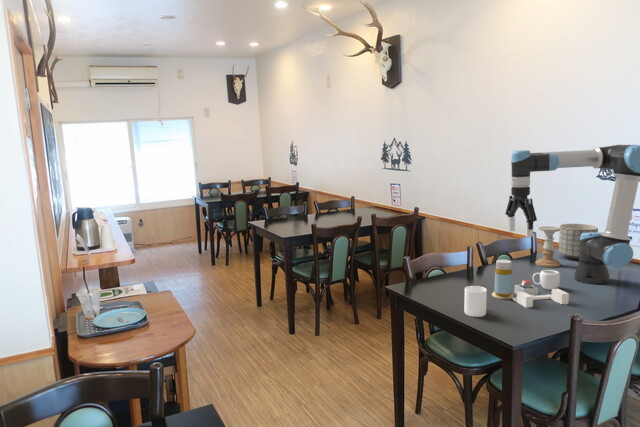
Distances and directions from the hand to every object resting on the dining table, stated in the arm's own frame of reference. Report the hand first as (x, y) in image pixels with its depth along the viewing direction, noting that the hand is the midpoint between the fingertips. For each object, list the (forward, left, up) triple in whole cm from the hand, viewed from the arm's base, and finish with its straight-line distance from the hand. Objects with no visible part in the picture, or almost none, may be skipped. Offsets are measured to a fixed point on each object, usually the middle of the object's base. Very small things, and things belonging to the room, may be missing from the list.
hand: (520, 233), depth 216 cm
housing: (-1, +10, -26) cm, 28 cm away
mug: (-15, -3, -27) cm, 31 cm away
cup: (+30, +20, -27) cm, 45 cm away
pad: (+10, +4, -27) cm, 29 cm away
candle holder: (-40, -39, -27) cm, 62 cm away
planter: (-64, -48, -27) cm, 84 cm away
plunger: (-1, +4, -25) cm, 25 cm away
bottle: (+10, +4, -26) cm, 28 cm away
